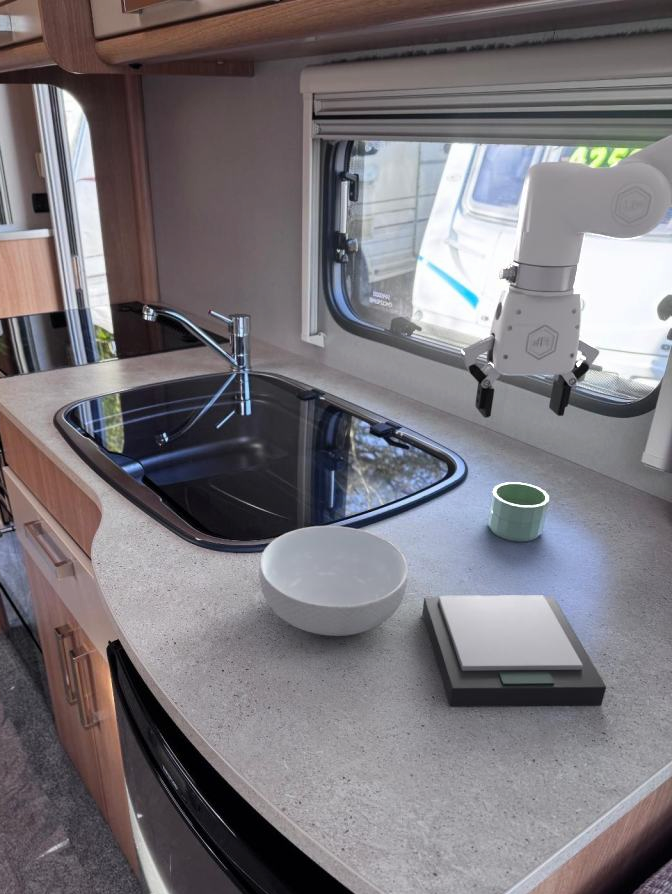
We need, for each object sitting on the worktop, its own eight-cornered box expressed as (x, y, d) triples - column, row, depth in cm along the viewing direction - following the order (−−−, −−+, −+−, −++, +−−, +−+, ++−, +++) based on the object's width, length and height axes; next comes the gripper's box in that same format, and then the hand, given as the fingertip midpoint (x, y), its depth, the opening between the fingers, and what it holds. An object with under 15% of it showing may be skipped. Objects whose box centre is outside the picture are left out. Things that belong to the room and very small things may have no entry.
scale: (550, 613, 84) (555, 592, 83) (601, 705, 71) (608, 682, 70) (422, 614, 84) (424, 593, 82) (449, 707, 71) (453, 683, 69)
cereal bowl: (394, 671, 75) (400, 616, 72) (241, 646, 79) (239, 593, 75) (410, 582, 90) (415, 532, 86) (280, 564, 93) (280, 516, 90)
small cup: (532, 516, 105) (539, 482, 102) (549, 542, 98) (556, 507, 95) (481, 516, 104) (486, 482, 102) (495, 543, 98) (501, 507, 95)
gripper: (481, 284, 82) (463, 425, 90) (628, 283, 83) (597, 422, 91) (462, 272, 89) (447, 404, 97) (599, 270, 90) (572, 401, 98)
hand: (519, 413), depth 94 cm, fingers open, 9 cm apart
